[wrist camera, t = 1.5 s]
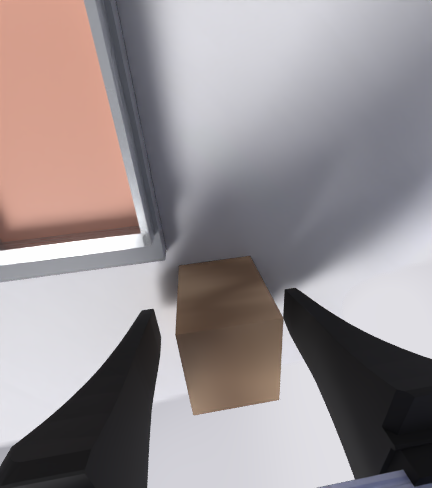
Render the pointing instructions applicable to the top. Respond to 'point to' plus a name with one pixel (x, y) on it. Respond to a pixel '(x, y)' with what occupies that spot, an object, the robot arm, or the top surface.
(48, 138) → the chassis
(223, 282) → the block
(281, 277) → the top surface
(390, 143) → the top surface
